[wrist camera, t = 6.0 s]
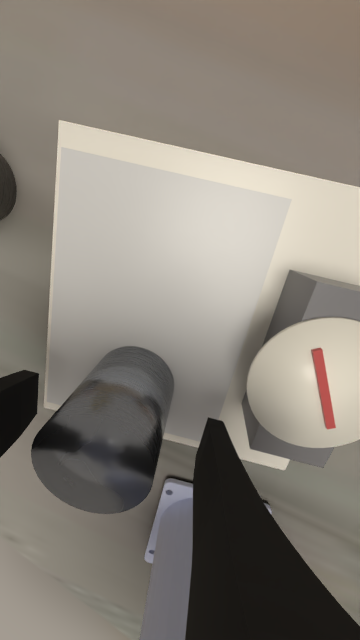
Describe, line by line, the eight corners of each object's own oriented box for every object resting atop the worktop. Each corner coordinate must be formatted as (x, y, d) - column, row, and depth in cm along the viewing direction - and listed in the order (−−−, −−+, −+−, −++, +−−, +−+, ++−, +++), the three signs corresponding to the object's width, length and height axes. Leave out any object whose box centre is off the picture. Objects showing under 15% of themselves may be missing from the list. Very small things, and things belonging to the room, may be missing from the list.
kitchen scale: (281, 434, 17) (319, 541, 11) (70, 379, 18) (-2, 454, 12) (380, 210, 13) (536, 187, 7) (91, 144, 13) (-9, 68, 7)
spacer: (164, 424, 14) (140, 527, 9) (91, 404, 14) (28, 494, 9) (182, 358, 12) (166, 436, 8) (101, 336, 12) (34, 399, 8)
